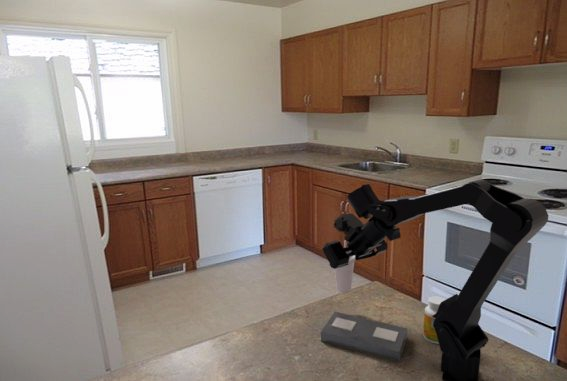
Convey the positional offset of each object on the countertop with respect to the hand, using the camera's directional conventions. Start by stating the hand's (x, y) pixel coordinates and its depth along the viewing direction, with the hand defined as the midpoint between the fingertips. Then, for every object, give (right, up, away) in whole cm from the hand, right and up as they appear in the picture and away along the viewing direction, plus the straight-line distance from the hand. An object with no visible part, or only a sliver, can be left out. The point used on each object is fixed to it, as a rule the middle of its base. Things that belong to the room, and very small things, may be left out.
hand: (339, 263), depth 101 cm
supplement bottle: (+21, -16, -12) cm, 29 cm away
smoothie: (+1, -7, +1) cm, 8 cm away
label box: (+4, -16, -12) cm, 20 cm away
